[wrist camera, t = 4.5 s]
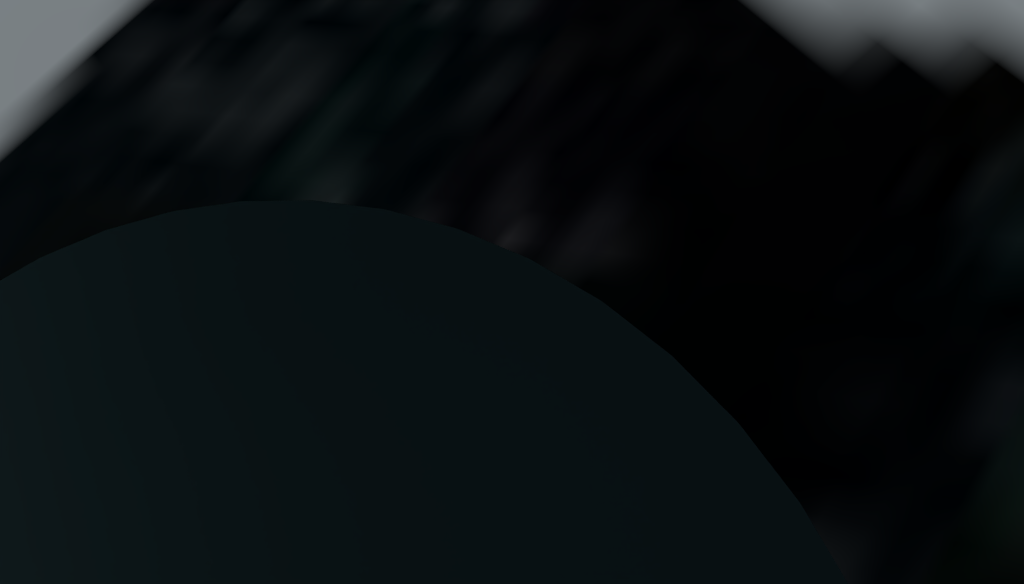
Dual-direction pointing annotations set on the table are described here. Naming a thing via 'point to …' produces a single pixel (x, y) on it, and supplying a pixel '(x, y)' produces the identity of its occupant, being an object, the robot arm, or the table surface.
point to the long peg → (360, 418)
